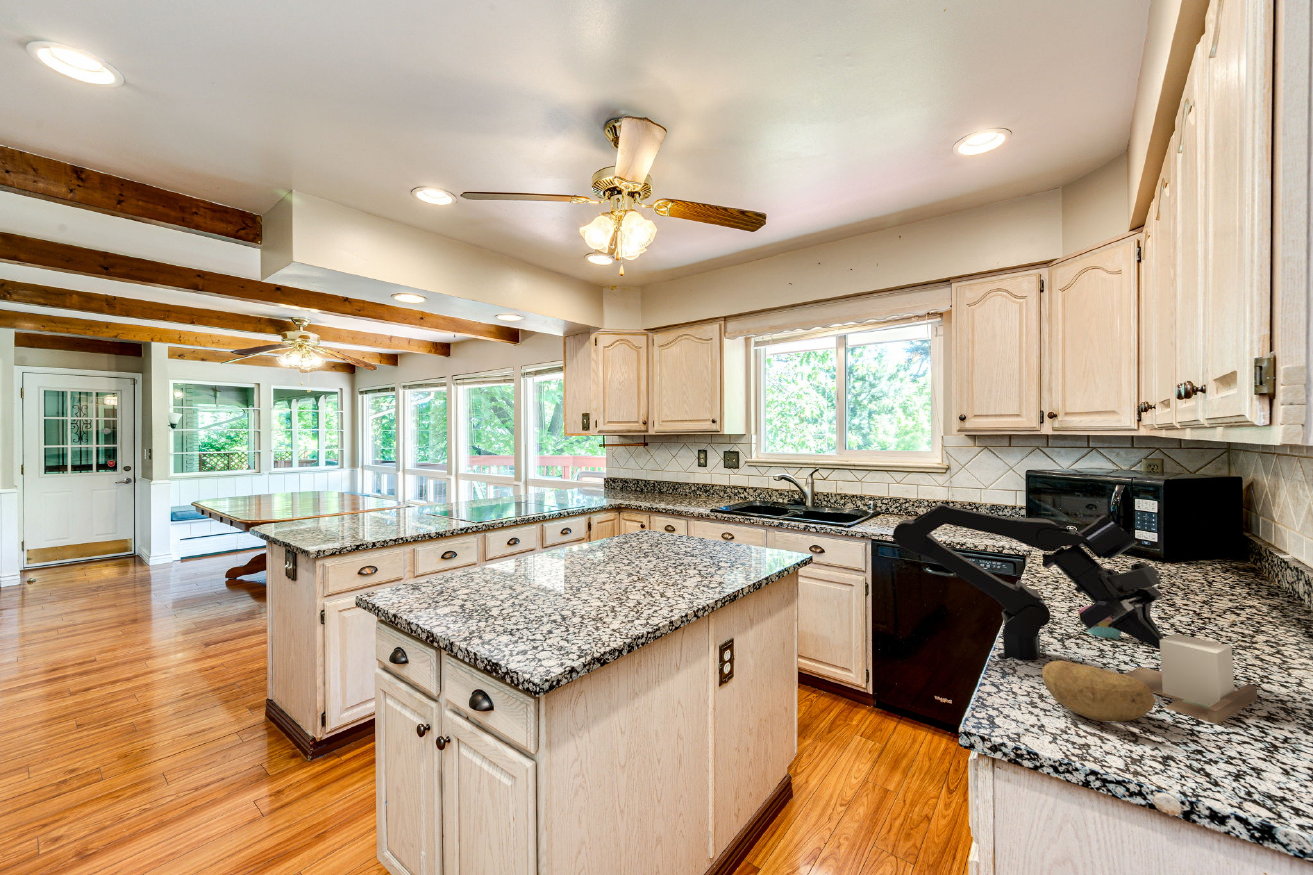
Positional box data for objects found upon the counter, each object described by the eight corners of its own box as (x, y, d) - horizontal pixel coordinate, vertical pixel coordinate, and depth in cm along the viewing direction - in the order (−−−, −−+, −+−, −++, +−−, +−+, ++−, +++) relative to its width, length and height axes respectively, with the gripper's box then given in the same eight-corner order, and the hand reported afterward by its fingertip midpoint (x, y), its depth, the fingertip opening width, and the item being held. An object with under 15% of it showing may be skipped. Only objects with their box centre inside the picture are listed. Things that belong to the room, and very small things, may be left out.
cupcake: (1138, 645, 112) (1135, 589, 113) (1093, 644, 114) (1090, 589, 114) (1112, 631, 121) (1109, 579, 121) (1070, 630, 122) (1067, 579, 123)
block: (1162, 692, 89) (1159, 640, 90) (1178, 684, 92) (1174, 633, 92) (1220, 710, 83) (1216, 653, 83) (1235, 700, 86) (1231, 645, 86)
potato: (1158, 746, 76) (1154, 690, 76) (1039, 715, 86) (1036, 666, 86) (1157, 719, 83) (1153, 668, 83) (1048, 693, 93) (1045, 648, 93)
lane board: (1097, 691, 93) (1096, 674, 93) (1141, 671, 100) (1140, 655, 100) (1217, 731, 79) (1216, 711, 79) (1258, 704, 86) (1256, 686, 86)
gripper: (1095, 555, 92) (1184, 636, 82) (1145, 543, 101) (1231, 615, 90) (1048, 590, 99) (1125, 669, 89) (1099, 576, 107) (1174, 647, 97)
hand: (1166, 649), depth 91 cm, fingers closed, pressing on block
